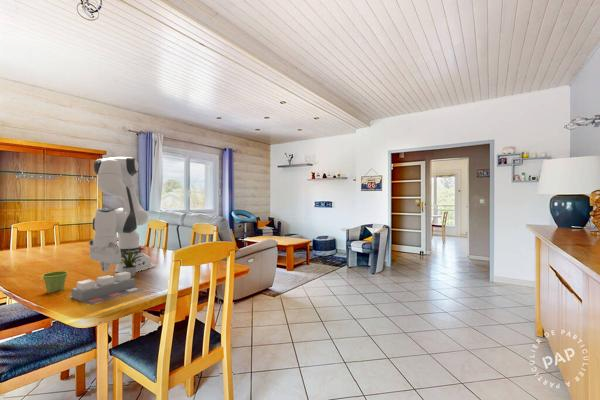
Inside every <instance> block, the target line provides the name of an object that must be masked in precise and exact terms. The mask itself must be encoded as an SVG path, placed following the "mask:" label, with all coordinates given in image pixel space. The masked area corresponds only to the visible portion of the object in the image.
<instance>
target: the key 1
mask: <svg viewBox="0 0 600 400" xmlns="http://www.w3.org/2000/svg"><path fill="white" fill-rule="evenodd" d="M95 283H96V280H93V279H90V278H89V279H84V280H80V281H76V288H77V290H80V291H85V290H89V289H93V288H95Z"/></svg>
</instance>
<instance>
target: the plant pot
mask: <svg viewBox="0 0 600 400" xmlns="http://www.w3.org/2000/svg"><path fill="white" fill-rule="evenodd" d="M68 273H69V272H68V271H66V270H65V271H64V270H60V271H51V272H47V273H43V274H42V275H41V276H42V278H43V281H44V285H45V289H46V293H47V294H51V293H55V292H60V291H64V289H65V284H66V277H67V275H68Z"/></svg>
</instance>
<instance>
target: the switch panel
mask: <svg viewBox="0 0 600 400" xmlns="http://www.w3.org/2000/svg"><path fill="white" fill-rule="evenodd" d="M143 290H144V291H145V289H143V288H141V287H136V278H132V277H131V279H129V280H125V281H121V282H119V281H116V280H115V278H114V283H113V284H109V285H105V286H100V285H97V282H95V288H93V289H89V290H85V291H80V290H77V287H73V288H71V295H67V297H68V298H71V299H73V300H76V301H79V302H82V303H85V304H87V305H89V306H93V305H96V304H99V303H103V302H106V301H110V300H114V299H117V298H120V297H123V296H127V295H131V294H135V293H137V292H140V291H143Z"/></svg>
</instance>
